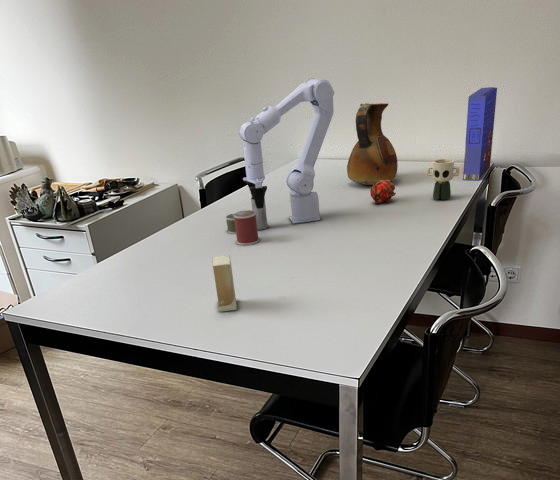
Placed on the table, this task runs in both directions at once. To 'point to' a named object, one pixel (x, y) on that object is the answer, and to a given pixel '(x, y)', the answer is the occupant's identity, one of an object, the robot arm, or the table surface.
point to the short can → (231, 223)
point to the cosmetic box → (224, 283)
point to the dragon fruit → (382, 191)
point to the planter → (260, 215)
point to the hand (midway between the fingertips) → (258, 205)
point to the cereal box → (479, 133)
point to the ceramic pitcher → (371, 148)
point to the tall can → (246, 227)
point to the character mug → (442, 177)
